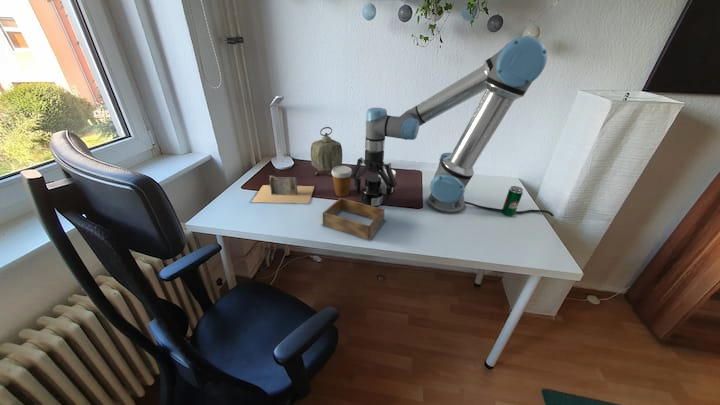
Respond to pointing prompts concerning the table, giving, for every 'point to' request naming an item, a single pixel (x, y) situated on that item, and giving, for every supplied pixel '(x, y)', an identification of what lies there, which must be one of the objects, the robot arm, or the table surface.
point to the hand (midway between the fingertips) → (372, 196)
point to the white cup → (384, 182)
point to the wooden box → (352, 226)
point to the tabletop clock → (326, 153)
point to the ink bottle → (372, 191)
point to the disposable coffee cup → (341, 180)
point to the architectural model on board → (284, 191)
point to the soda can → (512, 200)
